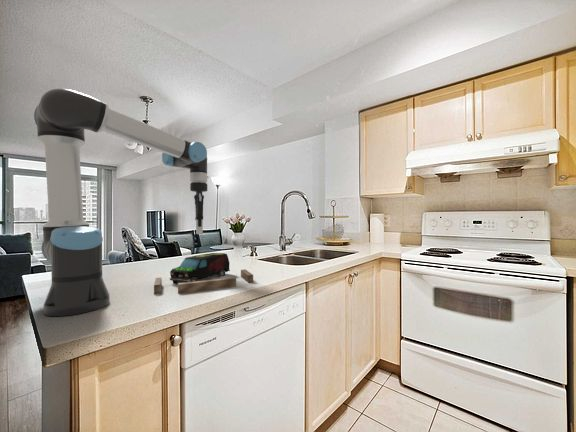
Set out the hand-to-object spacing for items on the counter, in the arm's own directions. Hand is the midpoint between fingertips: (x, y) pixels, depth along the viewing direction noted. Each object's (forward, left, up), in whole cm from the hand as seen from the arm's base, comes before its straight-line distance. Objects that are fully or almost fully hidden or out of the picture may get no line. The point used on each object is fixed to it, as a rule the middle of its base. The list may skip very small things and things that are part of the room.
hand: (199, 233), depth 121 cm
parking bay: (0, -22, -18) cm, 29 cm away
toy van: (0, -11, -19) cm, 22 cm away
